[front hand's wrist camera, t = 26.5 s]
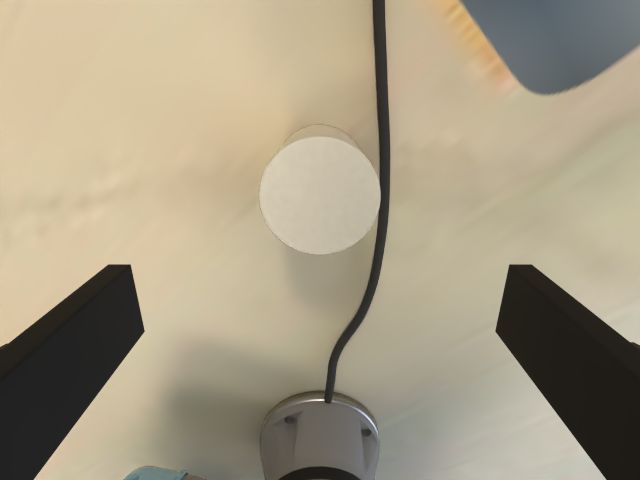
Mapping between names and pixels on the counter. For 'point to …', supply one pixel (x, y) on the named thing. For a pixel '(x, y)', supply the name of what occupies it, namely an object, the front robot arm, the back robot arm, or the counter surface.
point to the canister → (319, 191)
